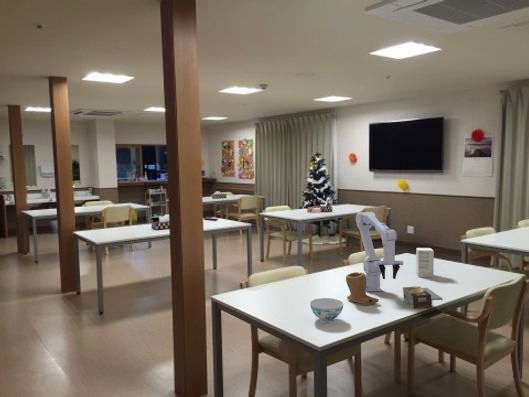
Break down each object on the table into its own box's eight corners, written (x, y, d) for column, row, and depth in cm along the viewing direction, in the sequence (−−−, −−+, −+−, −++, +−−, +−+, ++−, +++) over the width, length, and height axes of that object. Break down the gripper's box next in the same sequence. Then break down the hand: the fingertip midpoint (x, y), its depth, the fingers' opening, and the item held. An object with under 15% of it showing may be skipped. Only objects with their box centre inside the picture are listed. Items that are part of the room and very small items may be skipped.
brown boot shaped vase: (341, 300, 224) (340, 272, 223) (358, 296, 230) (358, 268, 229) (362, 308, 211) (362, 278, 210) (379, 304, 217) (379, 274, 216)
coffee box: (419, 285, 225) (432, 294, 209) (420, 297, 225) (433, 307, 209) (402, 287, 225) (413, 296, 209) (403, 299, 225) (414, 309, 209)
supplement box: (433, 277, 266) (434, 250, 265) (418, 277, 268) (418, 250, 267) (431, 274, 276) (431, 247, 274) (415, 273, 277) (416, 247, 276)
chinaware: (309, 325, 190) (309, 307, 190) (310, 313, 205) (310, 297, 204) (344, 326, 188) (343, 308, 187) (343, 314, 202) (343, 298, 202)
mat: (421, 299, 223) (421, 298, 223) (407, 289, 243) (407, 288, 243) (442, 299, 223) (442, 298, 223) (426, 288, 243) (426, 287, 243)
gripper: (377, 254, 222) (377, 281, 223) (405, 254, 223) (405, 280, 224) (373, 252, 229) (373, 277, 230) (400, 251, 230) (400, 276, 231)
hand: (388, 278), depth 227 cm, fingers open, 5 cm apart
